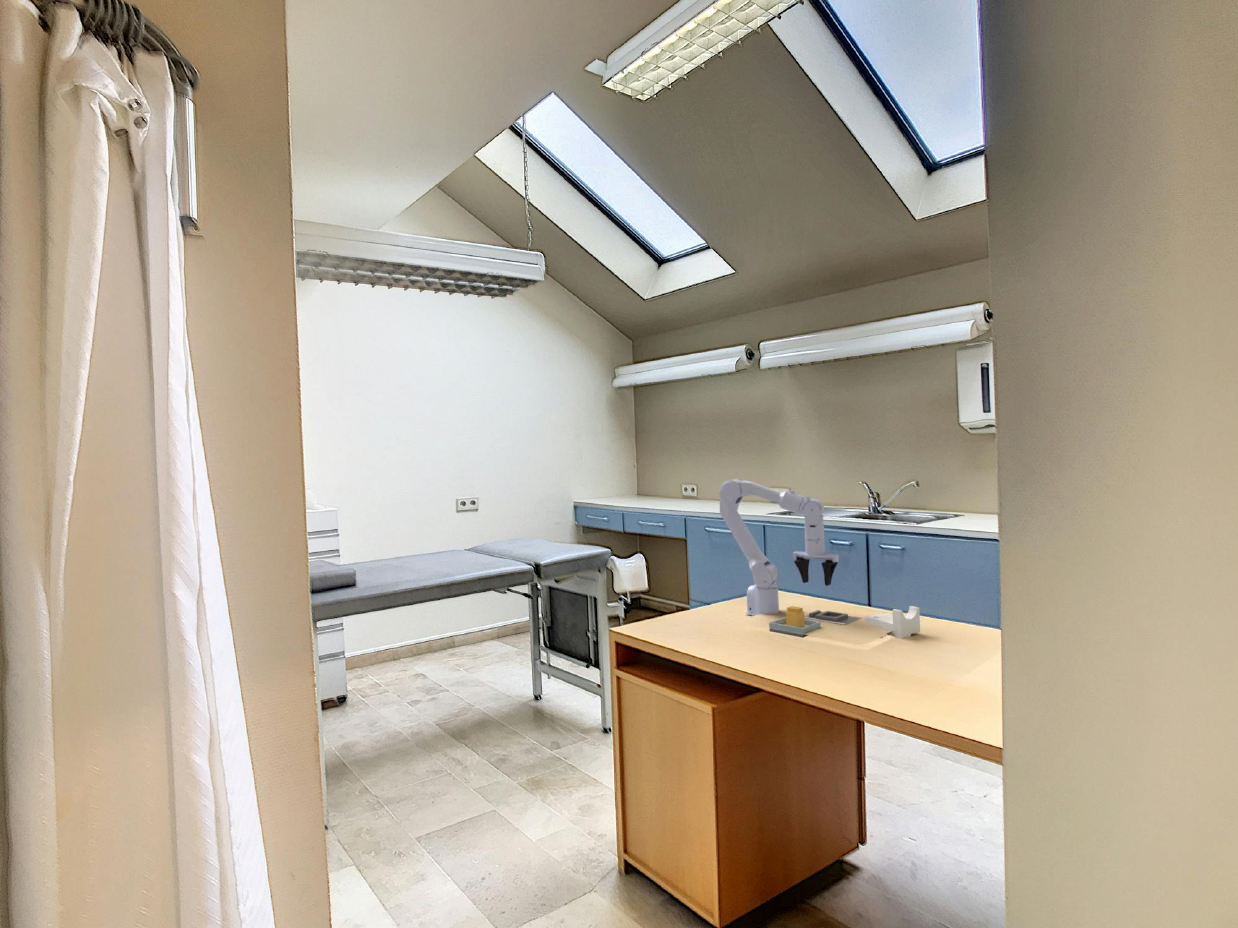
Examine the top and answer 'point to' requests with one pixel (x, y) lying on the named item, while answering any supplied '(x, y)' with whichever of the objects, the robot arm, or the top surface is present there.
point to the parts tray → (792, 627)
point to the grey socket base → (831, 617)
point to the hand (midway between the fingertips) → (816, 583)
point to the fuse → (795, 617)
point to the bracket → (897, 622)
